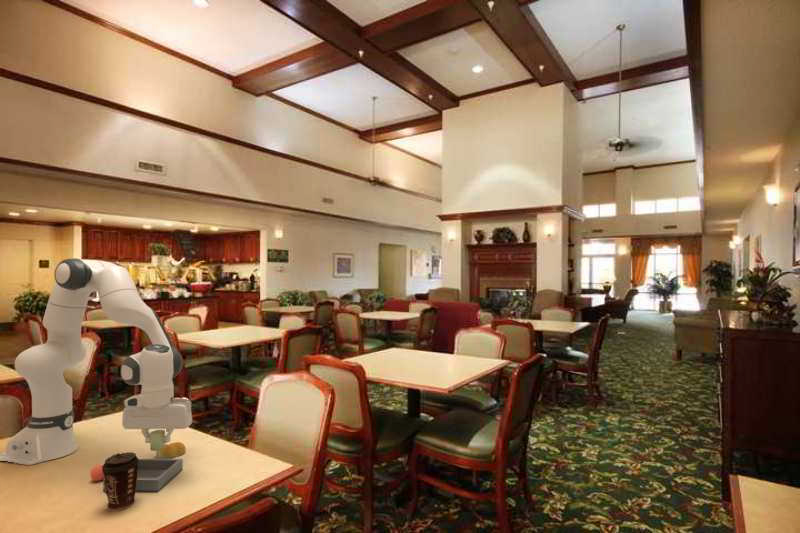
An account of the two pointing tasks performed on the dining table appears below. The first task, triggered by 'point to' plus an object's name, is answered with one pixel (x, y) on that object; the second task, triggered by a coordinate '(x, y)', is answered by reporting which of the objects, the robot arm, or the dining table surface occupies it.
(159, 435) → the pale green capsule
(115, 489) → the coffee cup
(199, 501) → the dining table surface
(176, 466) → the bin
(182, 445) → the bread roll
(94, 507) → the dining table surface
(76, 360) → the robot arm
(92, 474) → the red ball
